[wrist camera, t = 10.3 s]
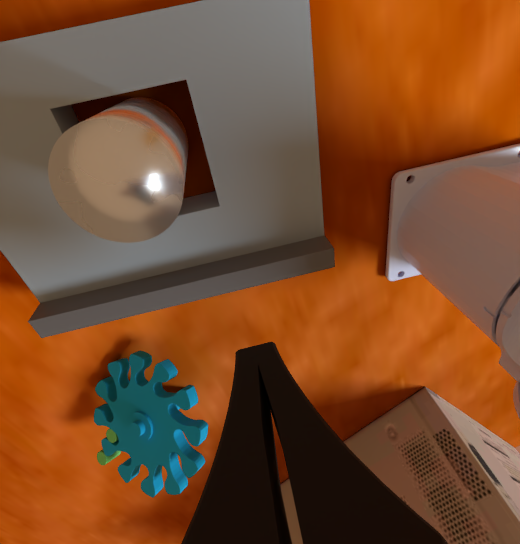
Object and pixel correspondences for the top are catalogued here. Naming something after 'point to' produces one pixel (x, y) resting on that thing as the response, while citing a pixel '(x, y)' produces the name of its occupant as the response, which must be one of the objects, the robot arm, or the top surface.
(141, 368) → the gear
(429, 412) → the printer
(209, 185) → the top surface
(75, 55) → the plate
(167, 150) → the cylindrical peg
